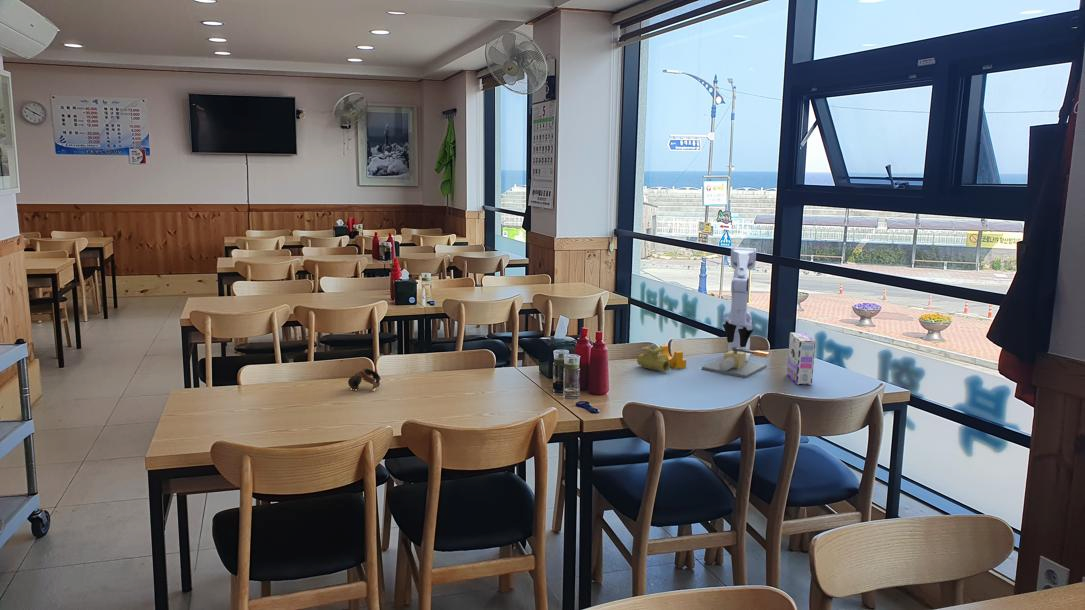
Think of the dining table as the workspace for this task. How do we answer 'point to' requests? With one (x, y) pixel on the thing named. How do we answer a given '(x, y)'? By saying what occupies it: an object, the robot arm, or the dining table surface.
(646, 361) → the ball valve
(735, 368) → the valve base
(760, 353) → the valve lever
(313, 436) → the dining table surface
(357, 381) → the brown arched figurine
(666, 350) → the pipe clamp
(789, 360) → the candy box
